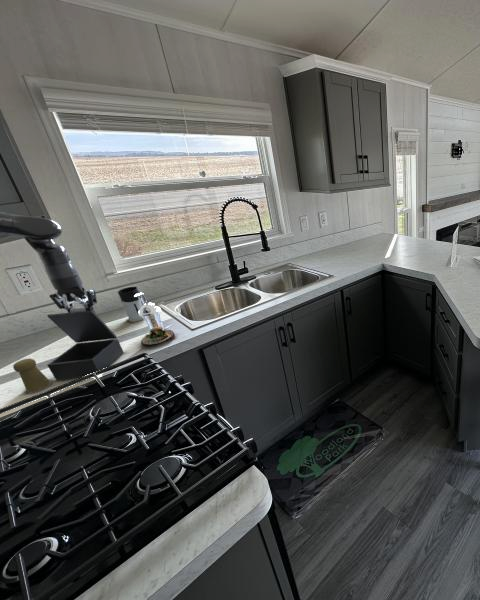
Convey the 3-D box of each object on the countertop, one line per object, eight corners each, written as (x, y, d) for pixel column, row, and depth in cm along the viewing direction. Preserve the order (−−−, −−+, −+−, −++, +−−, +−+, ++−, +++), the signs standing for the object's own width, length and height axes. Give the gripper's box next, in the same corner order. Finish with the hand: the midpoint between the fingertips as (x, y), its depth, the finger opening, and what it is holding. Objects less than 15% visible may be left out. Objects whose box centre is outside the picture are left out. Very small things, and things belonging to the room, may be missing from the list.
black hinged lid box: (100, 375, 121) (92, 359, 118) (56, 380, 119) (46, 365, 116) (124, 352, 134) (117, 338, 131) (84, 357, 132) (77, 343, 129)
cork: (52, 384, 117) (36, 359, 112) (29, 394, 112) (11, 368, 107) (47, 379, 120) (32, 354, 115) (24, 388, 115) (7, 363, 110)
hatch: (91, 311, 119) (98, 302, 123) (46, 316, 118) (55, 306, 121) (116, 338, 130) (122, 329, 134) (75, 342, 128) (82, 333, 132)
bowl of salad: (135, 348, 136) (128, 333, 133) (154, 333, 147) (148, 319, 144) (164, 347, 136) (158, 331, 133) (180, 332, 147) (175, 317, 144)
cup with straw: (173, 327, 151) (157, 288, 143) (153, 337, 144) (136, 296, 135) (160, 324, 154) (144, 285, 146) (141, 334, 147) (123, 294, 138)
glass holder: (141, 312, 168) (130, 285, 161) (162, 315, 163) (151, 288, 157) (124, 320, 160) (111, 292, 154) (145, 323, 156) (132, 295, 149)
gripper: (32, 280, 113) (55, 323, 120) (77, 276, 115) (98, 319, 122) (49, 273, 120) (70, 314, 127) (92, 269, 122) (110, 310, 129)
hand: (83, 316), depth 125 cm, fingers closed on hatch, 5 cm apart
